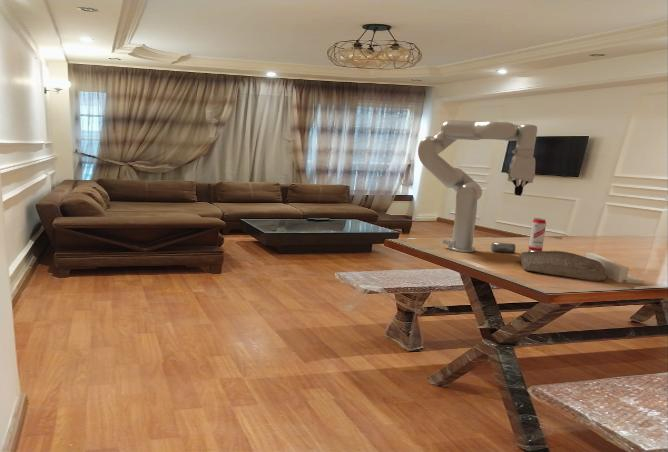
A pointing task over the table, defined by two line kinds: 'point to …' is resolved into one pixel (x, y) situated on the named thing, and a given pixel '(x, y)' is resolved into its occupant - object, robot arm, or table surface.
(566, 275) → the stone tablet
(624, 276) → the rail
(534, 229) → the beer can
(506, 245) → the roller
